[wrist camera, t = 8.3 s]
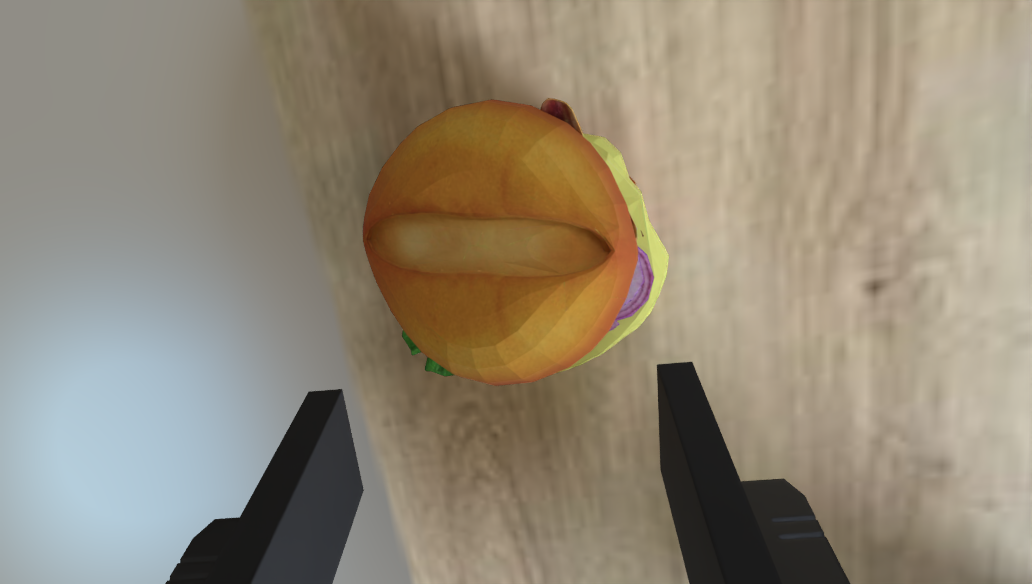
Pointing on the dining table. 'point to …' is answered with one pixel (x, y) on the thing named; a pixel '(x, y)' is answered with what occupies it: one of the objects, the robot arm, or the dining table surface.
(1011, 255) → the dining table surface
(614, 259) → the cheeseburger
